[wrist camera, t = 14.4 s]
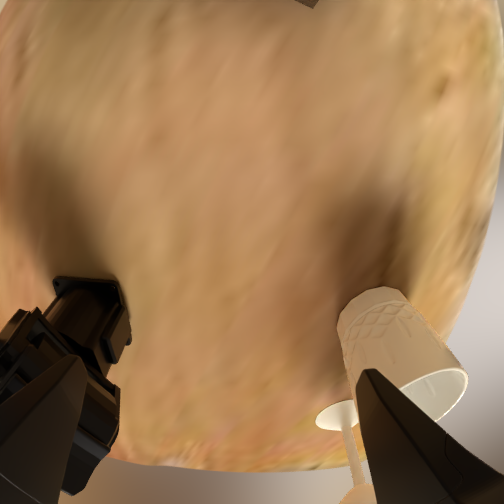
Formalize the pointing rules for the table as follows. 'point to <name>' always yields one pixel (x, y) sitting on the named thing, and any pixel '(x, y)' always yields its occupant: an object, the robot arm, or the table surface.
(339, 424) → the champagne flute
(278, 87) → the table surface
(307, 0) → the camera body
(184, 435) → the table surface
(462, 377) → the white cup
